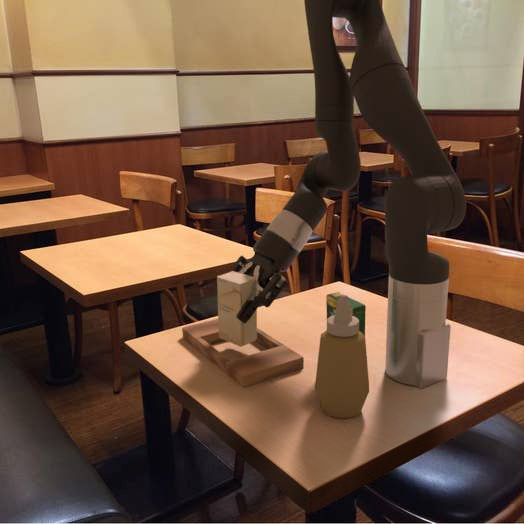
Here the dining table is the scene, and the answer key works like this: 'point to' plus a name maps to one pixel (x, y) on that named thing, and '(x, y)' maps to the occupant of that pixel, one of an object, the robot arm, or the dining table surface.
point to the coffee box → (355, 308)
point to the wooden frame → (250, 366)
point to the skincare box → (235, 308)
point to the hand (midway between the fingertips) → (230, 313)
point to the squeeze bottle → (342, 364)
